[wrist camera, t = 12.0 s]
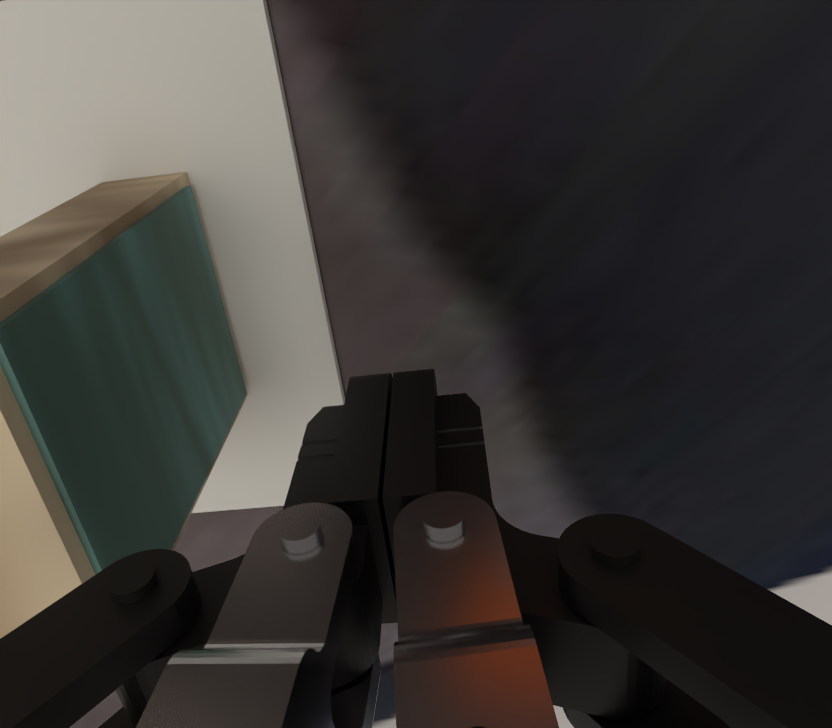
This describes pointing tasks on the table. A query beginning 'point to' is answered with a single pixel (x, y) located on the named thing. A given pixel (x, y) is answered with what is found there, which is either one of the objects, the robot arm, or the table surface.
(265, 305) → the mat
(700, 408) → the table surface
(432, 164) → the table surface
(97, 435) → the slab
